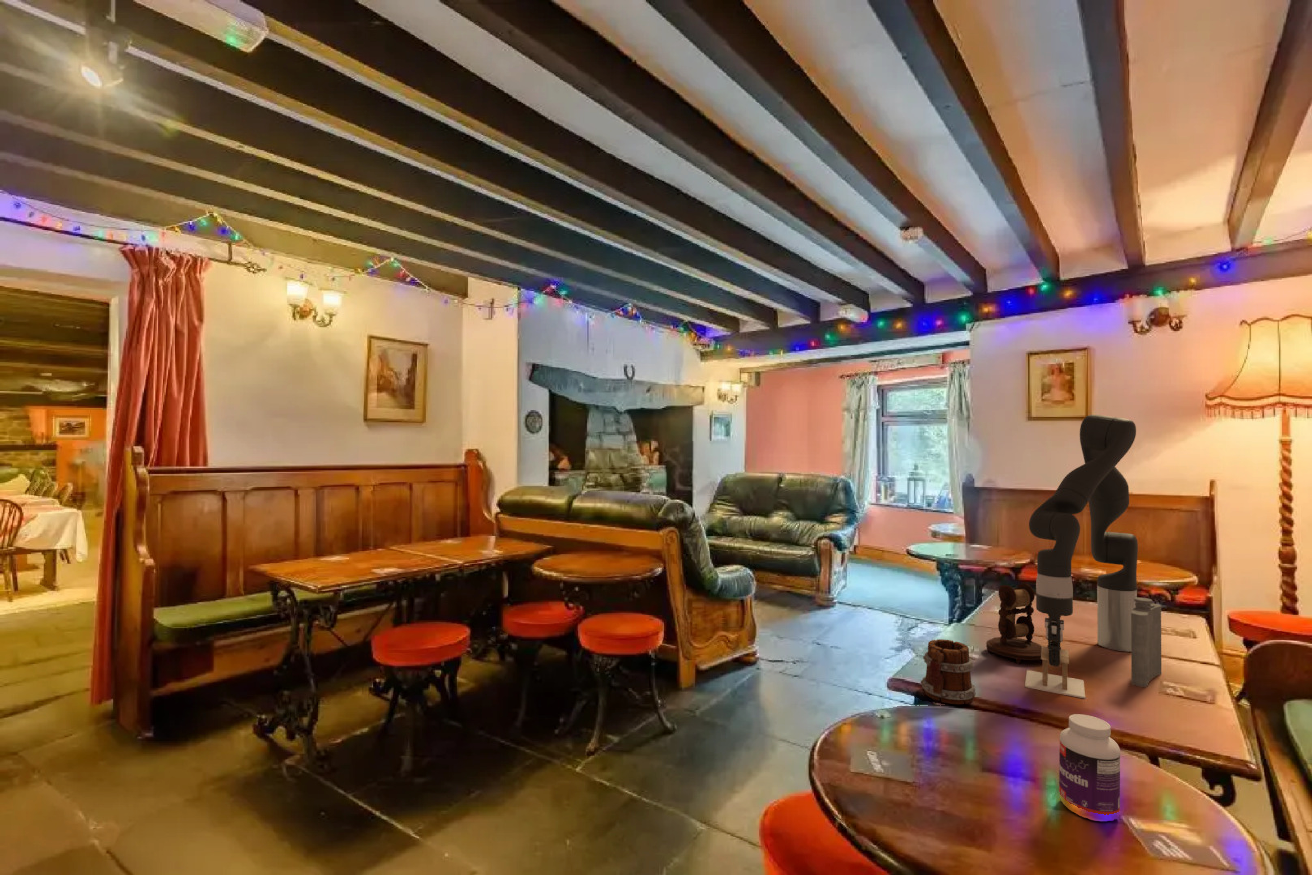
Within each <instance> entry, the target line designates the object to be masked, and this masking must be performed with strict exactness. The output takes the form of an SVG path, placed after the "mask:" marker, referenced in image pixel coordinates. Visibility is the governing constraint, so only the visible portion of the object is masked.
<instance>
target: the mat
mask: <svg viewBox="0 0 1312 875" xmlns="http://www.w3.org/2000/svg"><path fill="white" fill-rule="evenodd" d="M1042 676H1043V672H1041V671H1035V670H1029V669H1027V670H1026V675H1025V683H1024V688H1026V689H1027V688H1028V689H1033V690H1039V691H1042V692H1043V691H1044V692H1048V693H1054V694H1058V695H1059V694H1060V695H1064V696H1068V697H1075V698H1080V699H1084V700H1086V693H1085V690H1086V689H1085V682H1084V679H1078V678H1072V677H1069V676H1067V690H1064V689H1062V675H1056V674H1051V673H1048V681H1047V686H1044V685H1042Z"/></svg>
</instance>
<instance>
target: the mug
mask: <svg viewBox="0 0 1312 875" xmlns="http://www.w3.org/2000/svg"><path fill="white" fill-rule="evenodd" d="M969 649H970V648H969V646H968V645H966V644H965V643H962V642H960V641H953V640H951V639H942V638H941V639H938V638H937V639H932V640H930V641H928V643H927V651H926V652H925V653H924V655H923V656H922V659H923V660H924V661H923V662H924V663H925V664H926V669H925V671H926V673H925V676H924V677H922V679H921V680H920V684H921V688H922V689H923V692H924V694H925V695H926V696H927V697H928V698H931V700H935V701H938V702H940V701H941V703H944V704H949V705H951V704H952V705H964V704H965V705H967V704H970V703H971V702H973V701H974V697H975V696H976V694H977V693H976V686H975V685H974V684H973V683H972V677H971V675H972V674H971V671H972V670H973V669H974V667H975V666H974V663H973V659H972V658H971V657H970V650H969Z"/></svg>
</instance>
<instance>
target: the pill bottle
mask: <svg viewBox="0 0 1312 875" xmlns="http://www.w3.org/2000/svg"><path fill="white" fill-rule="evenodd" d="M1111 729H1112V728H1111V725H1110V723H1108V722H1107V721H1105V720H1103V718H1099V717H1095V716H1092V715H1088V714H1082V713H1081V714H1079V713H1076V714H1075V713H1074V714H1071V715H1069V717H1068V727H1066V728H1065V729H1063V730H1062V731H1061V732H1060V734H1059V758H1058V759H1059V763H1058V764H1059V766H1058V769H1059V773H1058V774H1059V775H1058V777H1059V779H1058V780H1059V782H1058V785H1059V786H1058V793H1059V792H1060V795H1061V796H1062V797H1063V798H1064V799H1065V800H1066V801H1068V802H1069V803H1070V804H1073V805H1075V806H1077V807H1078V808H1082V809H1084V810H1086V811H1088V812H1093V813H1098V814H1104V815H1106V814H1107V815H1109V814H1114V813H1117V812H1119V811H1120V812H1121V748H1120V746H1119V744H1118V743H1117V742H1116V741H1115V740H1114V739H1113V738H1111V737H1110V736H1111V734H1112V733H1111V732H1112V730H1111Z"/></svg>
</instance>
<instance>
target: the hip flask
mask: <svg viewBox="0 0 1312 875" xmlns="http://www.w3.org/2000/svg"><path fill="white" fill-rule="evenodd" d="M1134 601H1135V602H1136V603H1135V606H1136V607H1135V608H1134V609H1133V610H1132V611H1131V652H1130V653H1131V655H1130V657H1131V658H1130V659H1131V663H1130V664H1131V666H1130V667H1131V668H1130V669H1131V671H1130V672H1131V684H1132V685H1134V686H1137V687H1141V688H1147V687H1149V683H1150V682H1151V680H1152V679H1154V678H1155V677H1157V676H1160V675H1162V605H1161V604H1158V603H1153V599H1151V598H1146V597H1138V596H1137V597H1136V598H1134Z"/></svg>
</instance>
